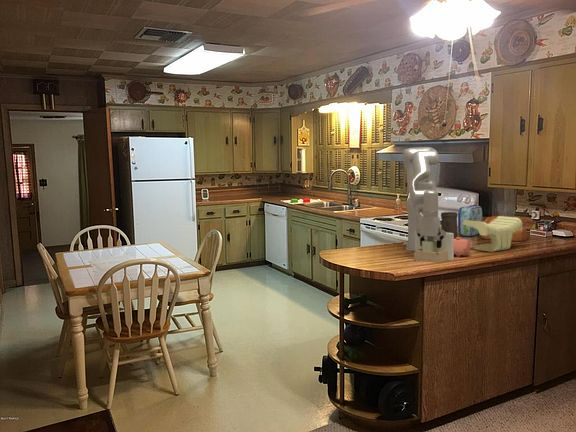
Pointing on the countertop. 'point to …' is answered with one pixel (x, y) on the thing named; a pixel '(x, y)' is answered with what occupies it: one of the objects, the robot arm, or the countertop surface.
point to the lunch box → (469, 214)
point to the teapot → (461, 247)
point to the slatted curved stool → (496, 232)
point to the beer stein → (449, 222)
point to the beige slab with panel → (444, 252)
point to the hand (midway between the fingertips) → (430, 246)
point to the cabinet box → (430, 245)
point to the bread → (515, 236)
